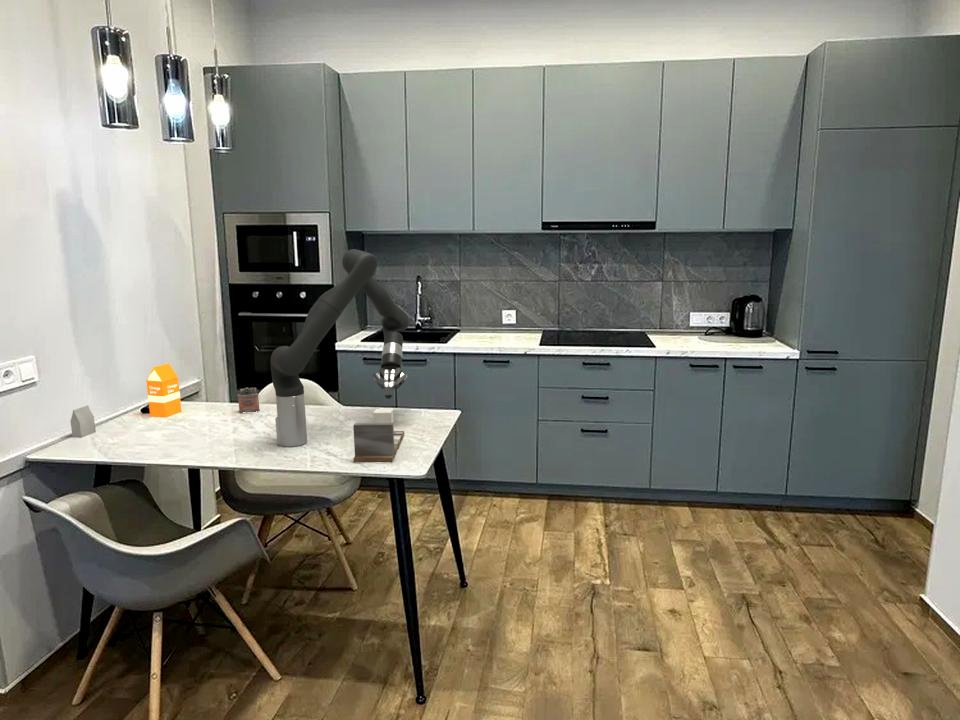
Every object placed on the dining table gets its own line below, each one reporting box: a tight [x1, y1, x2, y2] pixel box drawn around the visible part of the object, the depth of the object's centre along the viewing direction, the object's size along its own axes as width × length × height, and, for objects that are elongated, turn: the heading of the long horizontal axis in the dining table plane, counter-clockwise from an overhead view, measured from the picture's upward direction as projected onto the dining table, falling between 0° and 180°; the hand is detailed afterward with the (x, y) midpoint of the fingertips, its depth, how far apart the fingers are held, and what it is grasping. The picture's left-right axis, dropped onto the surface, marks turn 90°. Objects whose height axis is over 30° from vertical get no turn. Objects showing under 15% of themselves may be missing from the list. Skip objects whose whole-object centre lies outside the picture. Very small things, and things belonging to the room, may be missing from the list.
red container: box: [237, 387, 261, 414], centre depth 262 cm, size 8×3×10 cm, turn 101°
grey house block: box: [69, 405, 96, 439], centre depth 235 cm, size 4×7×10 cm, turn 169°
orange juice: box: [146, 363, 182, 418], centre depth 260 cm, size 8×9×20 cm
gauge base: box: [352, 421, 405, 463], centre depth 216 cm, size 28×12×12 cm, turn 179°
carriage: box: [372, 408, 402, 435], centre depth 222 cm, size 7×9×9 cm
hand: (388, 397), depth 234 cm, fingers closed
